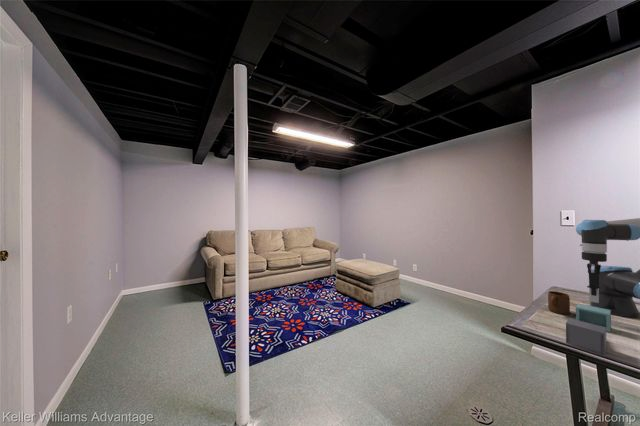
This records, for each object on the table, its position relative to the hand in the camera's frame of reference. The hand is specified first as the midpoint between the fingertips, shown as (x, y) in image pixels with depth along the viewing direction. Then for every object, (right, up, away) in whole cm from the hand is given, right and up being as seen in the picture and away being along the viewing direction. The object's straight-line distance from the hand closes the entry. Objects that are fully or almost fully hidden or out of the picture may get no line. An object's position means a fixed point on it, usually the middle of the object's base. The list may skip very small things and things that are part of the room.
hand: (594, 301), depth 105 cm
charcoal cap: (-27, -9, -19) cm, 35 cm away
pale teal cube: (-7, -9, -5) cm, 12 cm away
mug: (-9, -9, +8) cm, 15 cm away
